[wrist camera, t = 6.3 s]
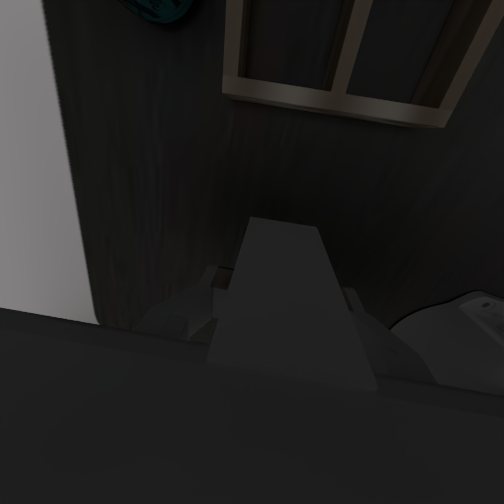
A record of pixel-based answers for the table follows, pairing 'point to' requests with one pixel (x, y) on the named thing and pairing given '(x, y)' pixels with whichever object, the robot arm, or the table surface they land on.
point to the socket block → (343, 58)
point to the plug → (289, 310)
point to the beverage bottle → (159, 9)
